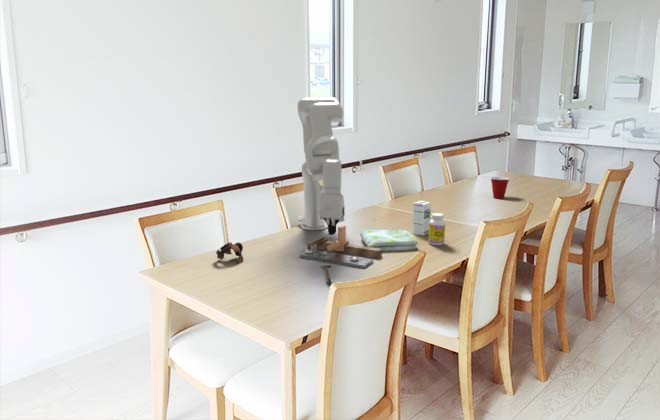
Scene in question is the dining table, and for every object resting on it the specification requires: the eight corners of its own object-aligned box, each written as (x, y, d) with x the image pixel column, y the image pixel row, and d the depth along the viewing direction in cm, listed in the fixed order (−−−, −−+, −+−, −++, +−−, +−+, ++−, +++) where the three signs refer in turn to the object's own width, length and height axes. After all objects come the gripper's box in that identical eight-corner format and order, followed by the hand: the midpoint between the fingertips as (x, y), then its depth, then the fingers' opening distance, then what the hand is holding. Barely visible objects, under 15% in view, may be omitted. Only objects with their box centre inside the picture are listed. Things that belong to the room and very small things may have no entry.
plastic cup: (510, 197, 335) (512, 176, 332) (505, 200, 326) (506, 179, 323) (492, 195, 341) (493, 175, 338) (486, 198, 332) (487, 177, 329)
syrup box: (423, 235, 258) (424, 204, 255) (412, 233, 262) (413, 202, 259) (430, 233, 262) (431, 202, 259) (419, 230, 266) (420, 200, 263)
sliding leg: (323, 256, 228) (323, 233, 225) (340, 246, 240) (340, 224, 238) (332, 257, 226) (332, 234, 223) (349, 247, 238) (349, 225, 236)
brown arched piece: (237, 267, 220) (225, 249, 218) (221, 273, 225) (209, 256, 223) (253, 250, 229) (241, 233, 227) (236, 257, 235) (225, 240, 233)
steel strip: (299, 257, 229) (299, 252, 228) (309, 252, 236) (309, 246, 235) (364, 268, 216) (364, 262, 216) (372, 262, 223) (373, 256, 223)
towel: (419, 250, 239) (419, 238, 238) (368, 253, 236) (368, 241, 234) (406, 238, 256) (407, 226, 255) (359, 240, 253) (359, 229, 252)
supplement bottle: (432, 246, 243) (433, 216, 240) (425, 242, 249) (426, 213, 246) (447, 245, 245) (448, 215, 241) (440, 240, 251) (441, 212, 248)
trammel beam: (304, 255, 232) (303, 243, 231) (320, 246, 244) (320, 234, 242) (367, 265, 219) (368, 253, 218) (382, 255, 231) (382, 243, 230)
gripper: (311, 190, 233) (311, 234, 237) (344, 193, 226) (344, 238, 231) (320, 187, 240) (320, 229, 244) (352, 190, 233) (352, 234, 237)
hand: (332, 234), depth 237 cm, fingers closed
